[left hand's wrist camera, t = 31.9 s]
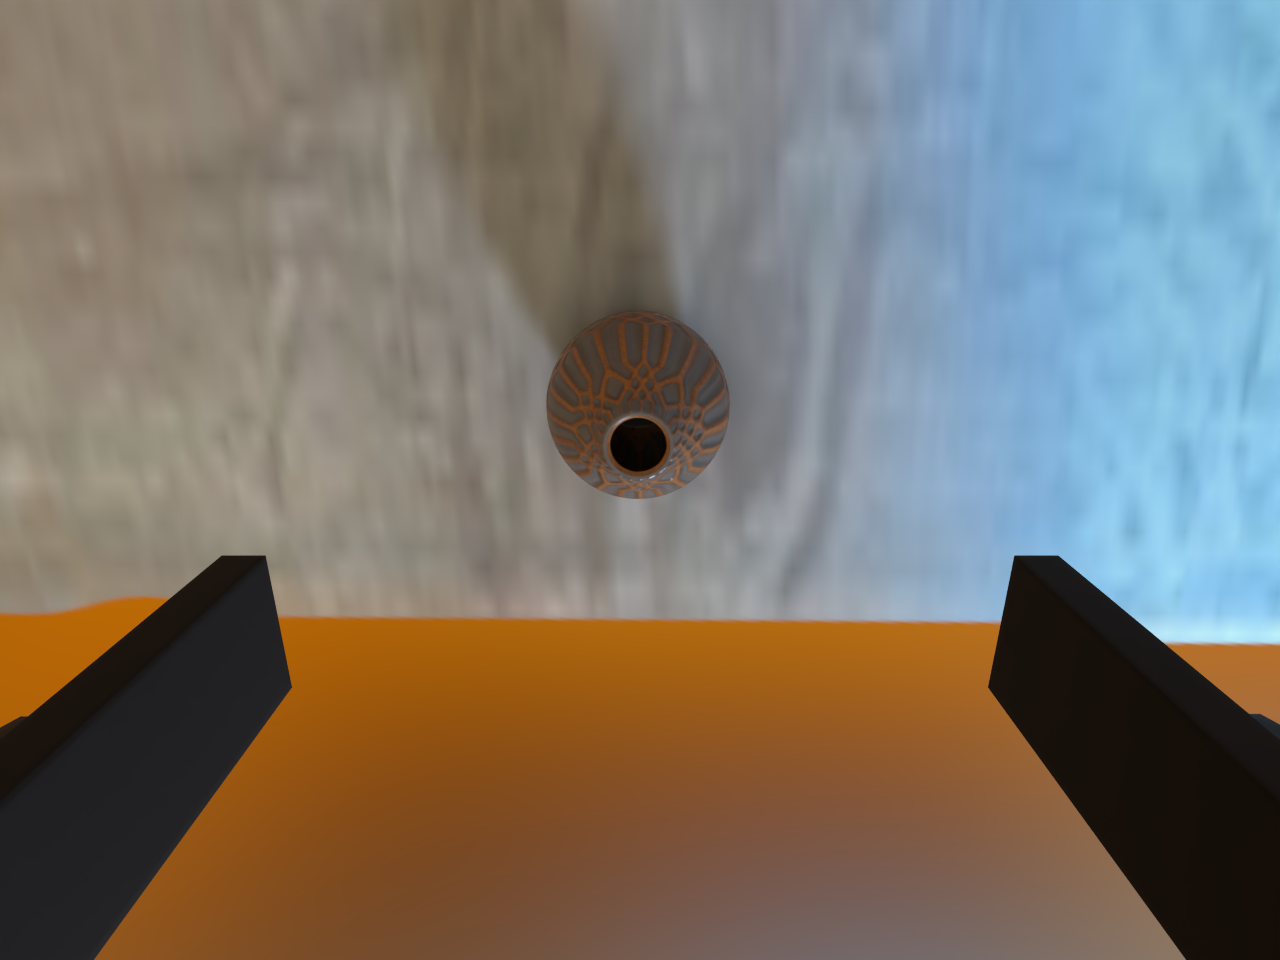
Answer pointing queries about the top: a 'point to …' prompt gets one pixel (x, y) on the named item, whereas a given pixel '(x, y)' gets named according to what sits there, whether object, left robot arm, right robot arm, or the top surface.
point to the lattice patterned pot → (638, 404)
